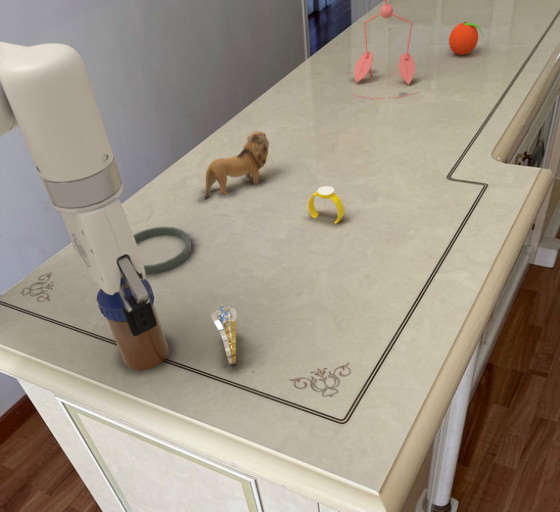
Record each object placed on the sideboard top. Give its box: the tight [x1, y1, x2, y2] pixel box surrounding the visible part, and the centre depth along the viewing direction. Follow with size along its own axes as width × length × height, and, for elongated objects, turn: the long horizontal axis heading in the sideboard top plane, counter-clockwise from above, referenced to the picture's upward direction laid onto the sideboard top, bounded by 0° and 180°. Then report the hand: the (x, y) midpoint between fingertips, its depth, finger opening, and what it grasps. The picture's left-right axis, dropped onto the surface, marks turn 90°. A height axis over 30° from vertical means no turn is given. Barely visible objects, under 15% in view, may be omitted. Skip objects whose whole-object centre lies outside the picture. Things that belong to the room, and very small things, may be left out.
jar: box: [105, 302, 170, 371], centre depth 74 cm, size 6×6×11 cm
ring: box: [210, 303, 238, 365], centre depth 74 cm, size 7×3×8 cm, turn 5°
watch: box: [307, 185, 345, 225], centre depth 95 cm, size 6×3×6 cm, turn 57°
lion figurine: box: [203, 130, 270, 201], centre depth 105 cm, size 15×5×9 cm, turn 125°
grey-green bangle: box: [133, 226, 192, 275], centre depth 94 cm, size 11×11×2 cm
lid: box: [96, 277, 155, 322], centre depth 71 cm, size 7×7×2 cm
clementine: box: [448, 21, 483, 56], centre depth 143 cm, size 8×7×7 cm
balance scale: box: [345, 0, 419, 100], centre depth 124 cm, size 15×26×35 cm, turn 65°
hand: (131, 314), depth 73 cm, fingers closed on lid, 6 cm apart
